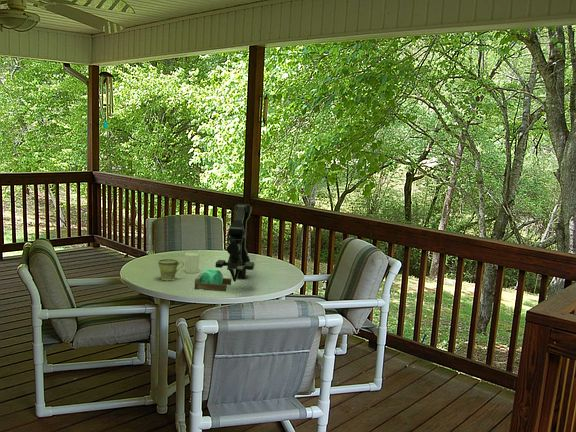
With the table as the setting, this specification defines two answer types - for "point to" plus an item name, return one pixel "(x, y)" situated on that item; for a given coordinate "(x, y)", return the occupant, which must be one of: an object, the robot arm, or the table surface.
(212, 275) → the decorative dice
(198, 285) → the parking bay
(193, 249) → the table surface
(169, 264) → the ceramic cup
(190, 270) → the white cup
